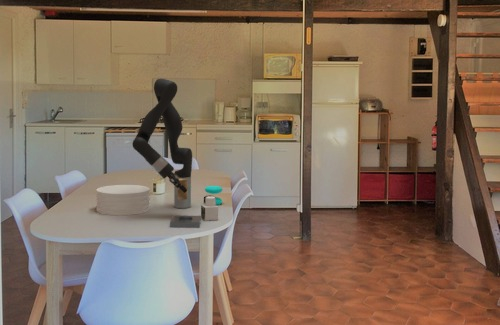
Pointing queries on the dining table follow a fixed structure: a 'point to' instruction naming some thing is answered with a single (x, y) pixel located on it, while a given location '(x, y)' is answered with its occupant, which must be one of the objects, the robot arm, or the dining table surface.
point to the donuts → (214, 192)
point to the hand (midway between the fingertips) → (186, 190)
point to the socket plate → (185, 221)
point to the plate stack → (123, 199)
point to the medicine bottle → (209, 209)
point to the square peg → (181, 194)
